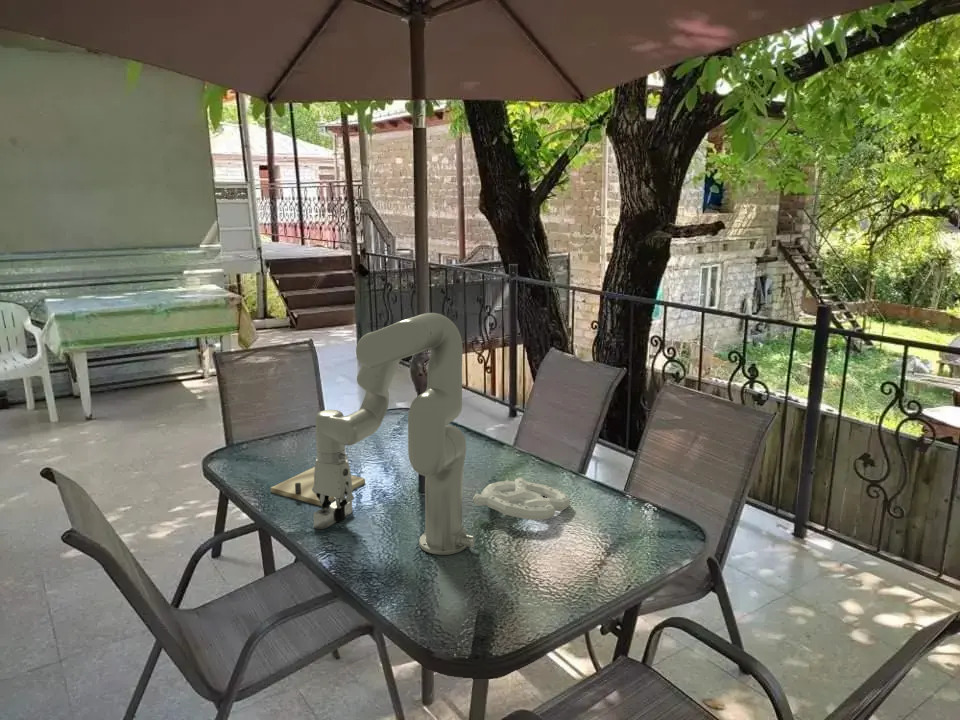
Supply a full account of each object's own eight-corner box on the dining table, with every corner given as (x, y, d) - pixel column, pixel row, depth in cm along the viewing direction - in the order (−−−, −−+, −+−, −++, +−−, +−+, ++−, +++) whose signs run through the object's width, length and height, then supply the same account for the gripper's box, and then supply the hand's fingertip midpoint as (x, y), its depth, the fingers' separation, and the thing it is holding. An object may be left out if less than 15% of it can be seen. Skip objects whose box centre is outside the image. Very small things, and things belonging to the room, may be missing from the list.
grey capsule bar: (355, 510, 199) (354, 499, 199) (322, 530, 187) (321, 518, 187) (344, 507, 201) (343, 496, 200) (310, 527, 189) (310, 514, 188)
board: (365, 482, 220) (364, 469, 219) (322, 506, 202) (321, 491, 201) (315, 470, 229) (315, 457, 228) (270, 492, 212) (270, 478, 211)
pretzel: (508, 488, 221) (511, 469, 220) (577, 509, 209) (580, 488, 208) (460, 509, 197) (463, 487, 196) (535, 533, 185) (539, 510, 184)
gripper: (364, 456, 190) (366, 519, 194) (316, 446, 197) (319, 507, 201) (346, 465, 183) (349, 530, 187) (298, 454, 191) (301, 516, 195)
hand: (333, 517), depth 194 cm, fingers closed on grey capsule bar, 4 cm apart
